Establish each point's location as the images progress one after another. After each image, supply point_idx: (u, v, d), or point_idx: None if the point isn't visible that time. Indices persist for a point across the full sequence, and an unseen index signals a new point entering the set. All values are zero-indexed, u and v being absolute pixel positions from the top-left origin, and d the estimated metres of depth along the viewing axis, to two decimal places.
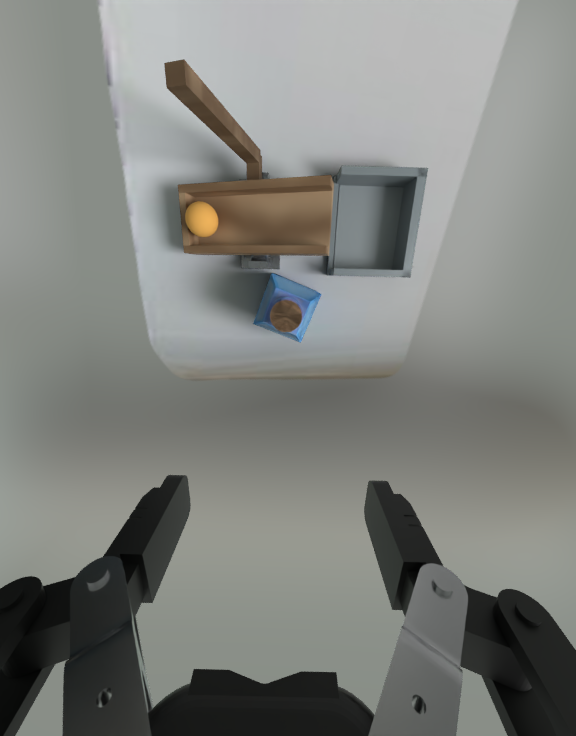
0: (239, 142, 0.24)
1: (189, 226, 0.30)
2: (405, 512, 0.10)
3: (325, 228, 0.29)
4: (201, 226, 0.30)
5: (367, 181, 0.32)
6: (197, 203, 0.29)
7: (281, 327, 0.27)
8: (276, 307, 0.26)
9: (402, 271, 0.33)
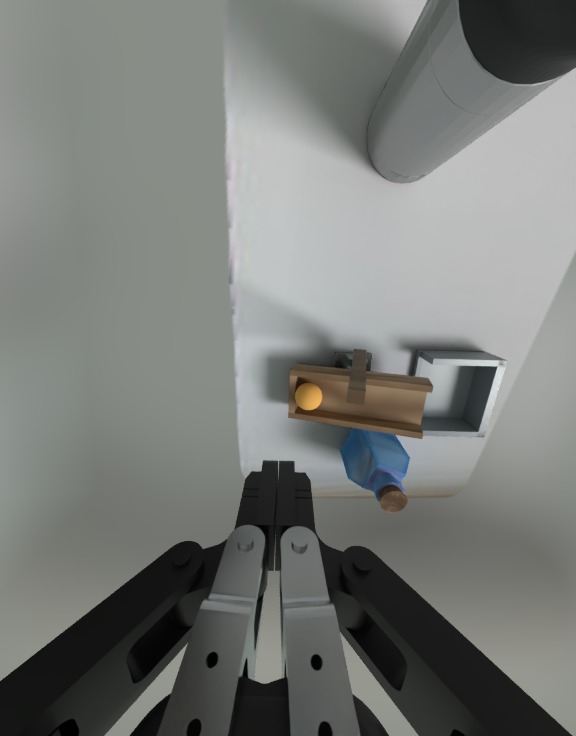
0: None
1: (299, 405, 0.35)
2: (302, 487, 0.11)
3: (418, 411, 0.34)
4: (311, 408, 0.35)
5: None
6: (309, 390, 0.34)
7: (388, 509, 0.32)
8: (386, 496, 0.31)
9: (477, 433, 0.38)
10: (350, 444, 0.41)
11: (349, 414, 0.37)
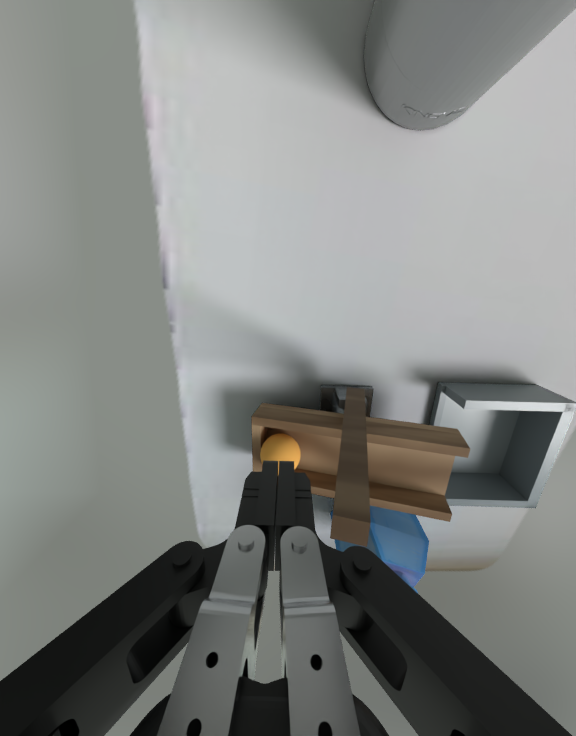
0: None
1: None
2: (302, 487, 0.11)
3: (443, 477, 0.23)
4: None
5: None
6: (280, 448, 0.23)
7: None
8: None
9: (526, 502, 0.26)
10: None
11: None
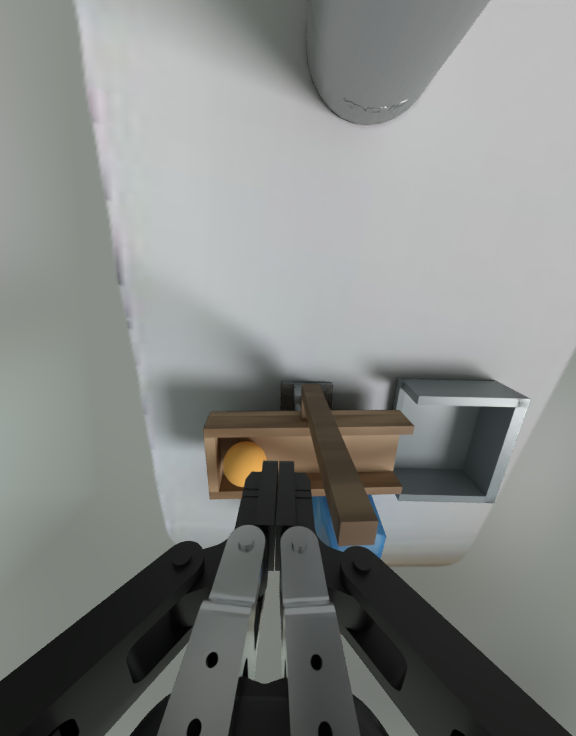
0: None
1: (238, 485, 0.22)
2: (302, 487, 0.11)
3: (391, 454, 0.25)
4: None
5: None
6: (250, 457, 0.21)
7: None
8: None
9: (485, 497, 0.26)
10: None
11: None
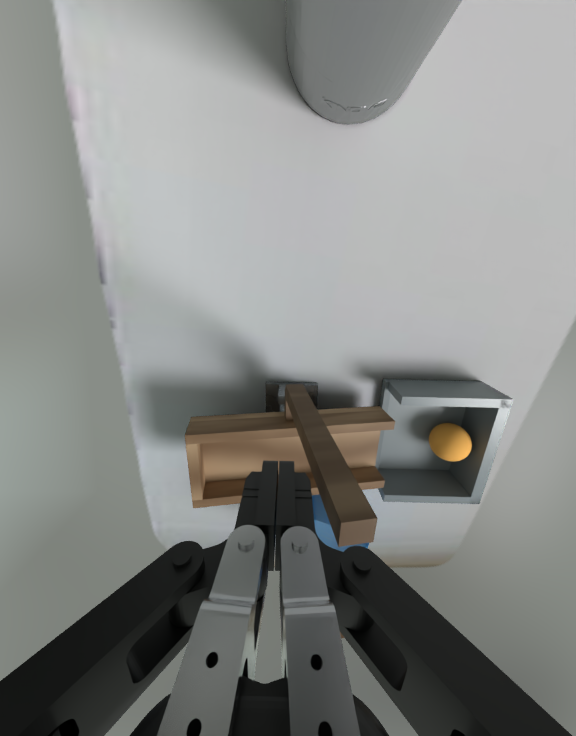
0: None
1: (442, 456, 0.26)
2: (302, 487, 0.11)
3: (372, 450, 0.26)
4: (460, 459, 0.25)
5: None
6: (459, 436, 0.25)
7: None
8: None
9: (470, 498, 0.26)
10: None
11: None
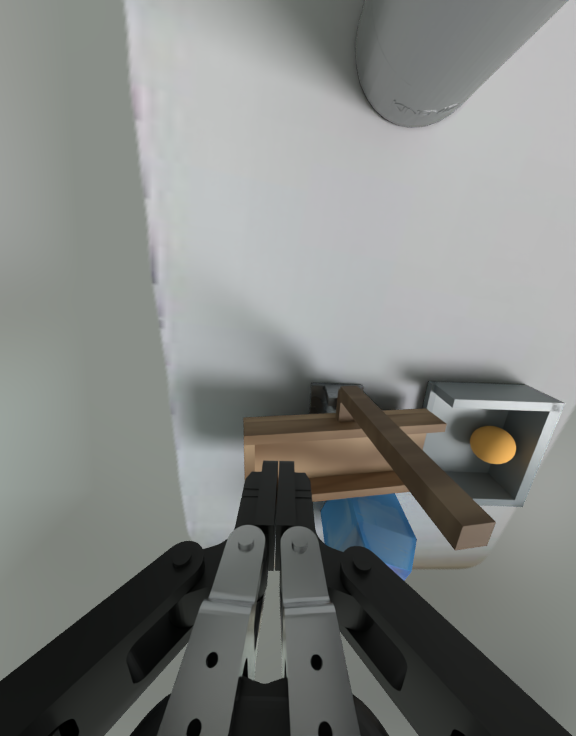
0: None
1: (484, 458, 0.26)
2: (302, 487, 0.11)
3: None
4: (503, 462, 0.25)
5: None
6: (503, 439, 0.25)
7: None
8: None
9: (514, 501, 0.26)
10: (332, 508, 0.29)
11: (332, 476, 0.25)
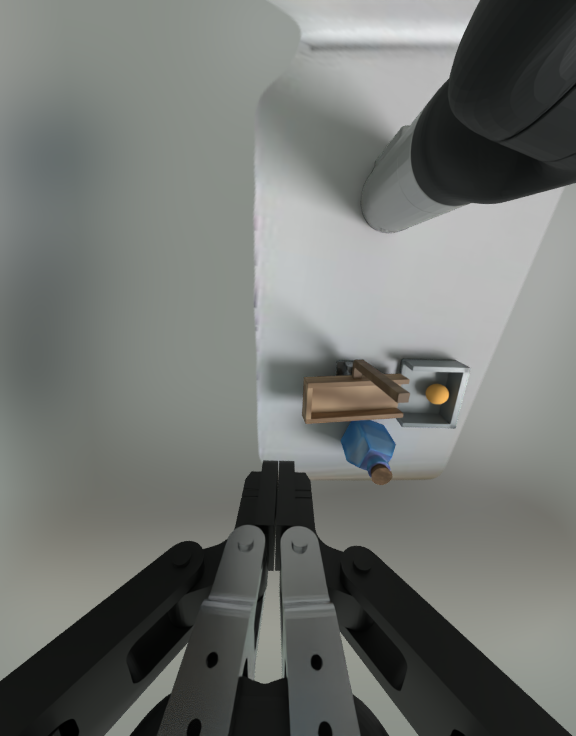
0: None
1: (431, 400, 0.47)
2: (302, 487, 0.11)
3: None
4: (441, 402, 0.46)
5: None
6: (440, 389, 0.46)
7: (378, 482, 0.42)
8: (376, 471, 0.41)
9: (450, 425, 0.47)
10: (348, 434, 0.51)
11: (349, 410, 0.46)
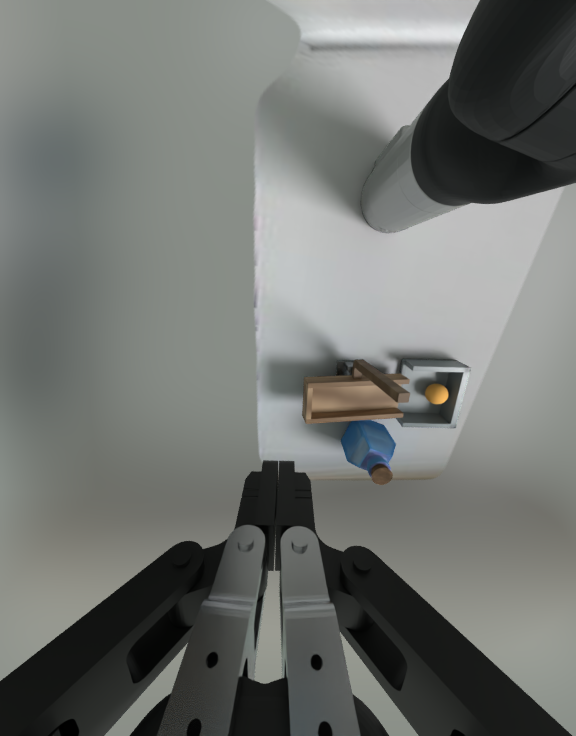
0: None
1: (430, 400, 0.47)
2: (302, 487, 0.11)
3: None
4: (440, 402, 0.46)
5: None
6: (439, 389, 0.46)
7: (378, 482, 0.42)
8: (376, 471, 0.41)
9: (450, 424, 0.47)
10: (348, 434, 0.51)
11: (349, 410, 0.46)
